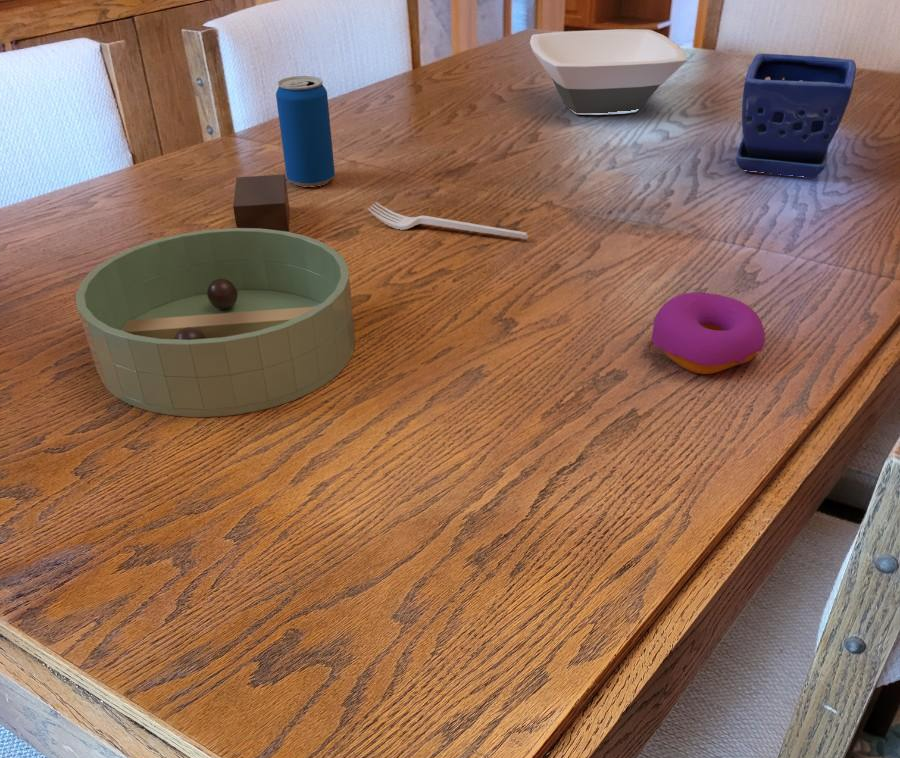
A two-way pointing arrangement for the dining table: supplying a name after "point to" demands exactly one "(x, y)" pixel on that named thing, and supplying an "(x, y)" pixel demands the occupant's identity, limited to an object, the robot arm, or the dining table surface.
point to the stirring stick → (214, 323)
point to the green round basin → (185, 294)
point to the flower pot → (792, 112)
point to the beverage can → (305, 130)
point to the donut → (707, 332)
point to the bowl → (607, 66)
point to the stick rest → (262, 202)
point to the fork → (437, 223)
